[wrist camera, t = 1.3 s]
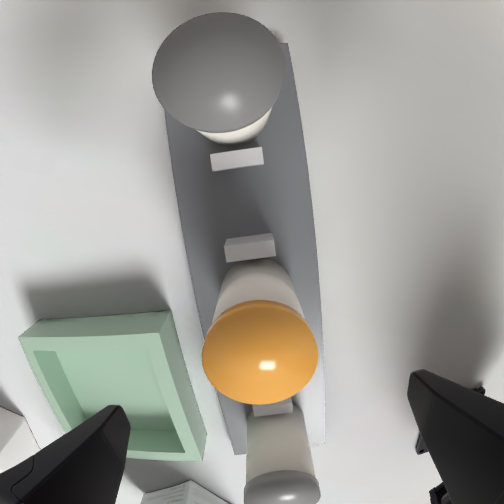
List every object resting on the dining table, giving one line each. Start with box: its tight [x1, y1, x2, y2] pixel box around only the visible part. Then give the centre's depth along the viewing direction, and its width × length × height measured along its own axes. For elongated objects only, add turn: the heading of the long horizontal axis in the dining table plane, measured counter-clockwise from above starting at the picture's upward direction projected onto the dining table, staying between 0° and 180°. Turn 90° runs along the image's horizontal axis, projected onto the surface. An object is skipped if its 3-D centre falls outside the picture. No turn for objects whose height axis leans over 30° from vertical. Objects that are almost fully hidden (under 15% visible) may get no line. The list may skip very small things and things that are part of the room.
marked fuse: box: [202, 258, 318, 405], centre depth 14 cm, size 4×4×7 cm
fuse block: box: [152, 12, 325, 504], centre depth 15 cm, size 27×7×8 cm, turn 8°
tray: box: [18, 310, 207, 461], centre depth 19 cm, size 11×11×3 cm
